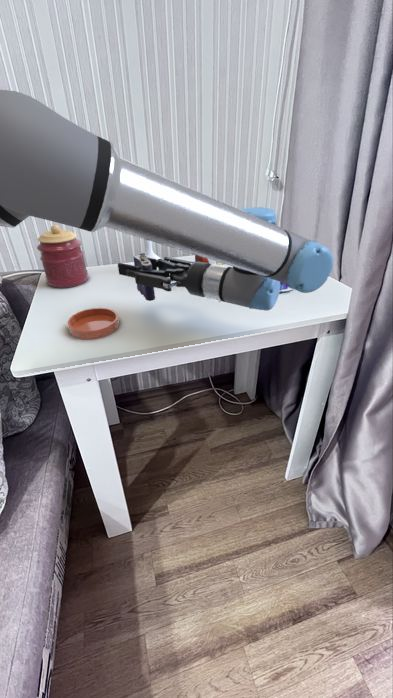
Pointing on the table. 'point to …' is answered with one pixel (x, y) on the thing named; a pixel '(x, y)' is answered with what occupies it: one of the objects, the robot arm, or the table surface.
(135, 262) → the flask
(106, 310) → the terracotta plant saucer
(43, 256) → the kitchen canister
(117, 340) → the table surface
